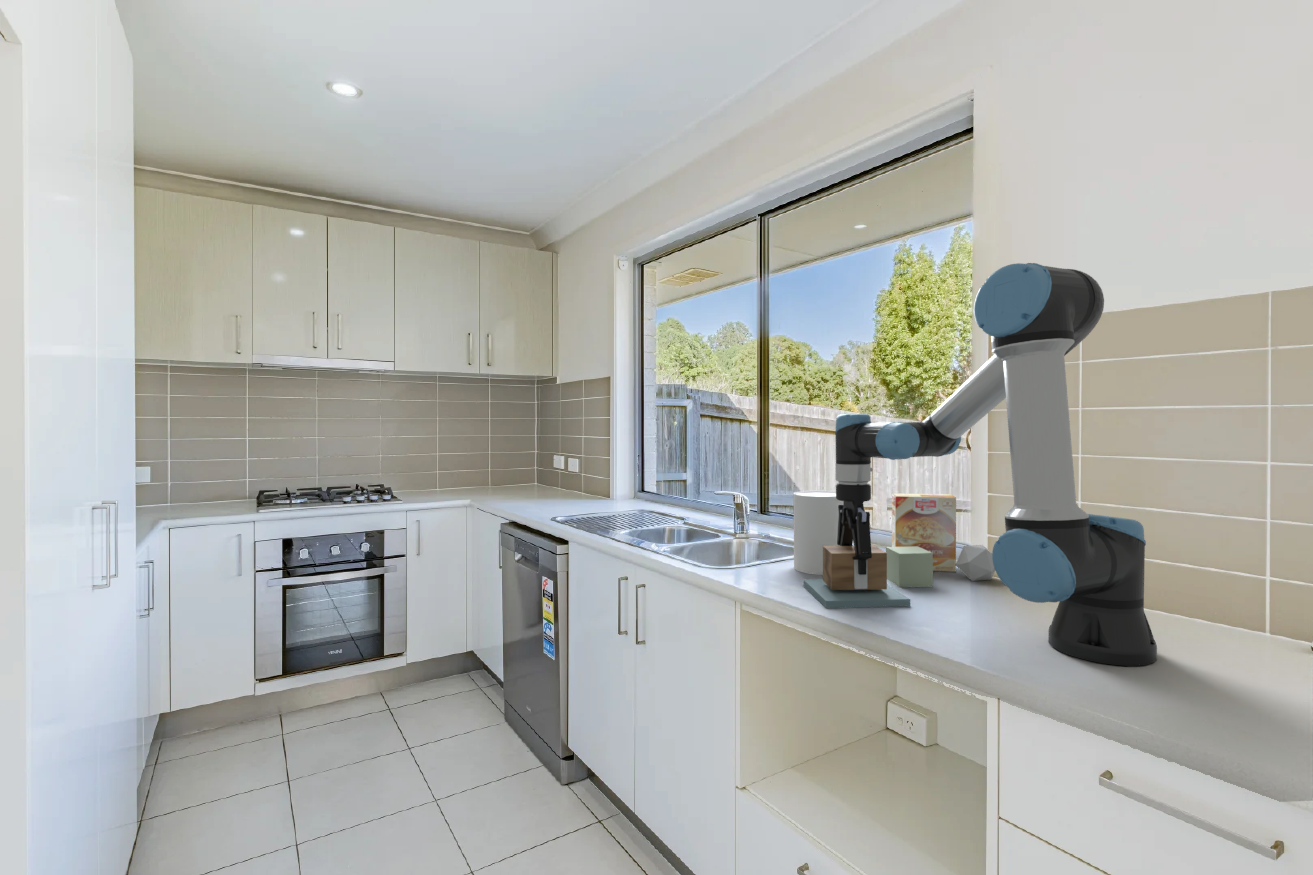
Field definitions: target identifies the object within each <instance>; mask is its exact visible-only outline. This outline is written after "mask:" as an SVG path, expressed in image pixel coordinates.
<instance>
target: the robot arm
mask: <svg viewBox="0 0 1313 875" xmlns="http://www.w3.org/2000/svg"><path fill="white" fill-rule="evenodd" d="M1104 306H1105V297H1104V292H1103V289H1102V288H1101V286H1100V284H1099V283H1098V281H1097V280H1096V279H1094V277H1093V276H1091V275H1090V274H1088V273H1086V272H1083V271H1081V270H1078V269H1073V268H1060V267H1054V266H1049V265H1048V266H1047V265H1042V264H1040V263H1035V262H1028V263H1020V262H1019V263H1012V264H1008V265H1005V266H1002V267H1000V268H998V269H997V270H996V271H994V272H993V273H992V274H990V275H989V276H988V277H987V278H986V281H985V282H984V283H983V285H981V286H980V287H979V289H978V292H977V293H976V296H975V299H974V303H973V316H974V320H975V322H976V325H977V326H978V327H979V329H981V330H982V331H983V332H984V333H985V334H987V335H988V336H990V341H991V353H992V356H991V357H990V358H989V359H988V360H986V362H985V363H984V364H982V366H980V367H979V368H978V369H977V370H976V371H975V372H974V373H973V374H972V375H971V376H970V377H968V379H966V381H965V382H963V383H962V385H960V386H959V387H958V388H957V389H956V390H955V391H954V392H953V393H952V394H951V395H950V396H949V397H948V398H947V399H945V401H943V402H942V403H941V405H939V406H938V407H937V408H936V409H935V410H934V411H932V412H931V414H929V415H928V416H927V417H926V418H925V419H924V420H922V421H916V422H915V421H910V422H908V421H907V422H900V421H898V422H895V421H892V422H872V421H871V416H870V414H868V413H853V414H852V413H850V414H849V413H847V414H846V413H844V414H843V413H842V414H838V415H837V416H836V419H835V421H836V422H835V431H834V435H835V481H837V483H836V485H835V492H836V499H837V500H840V501H844V503H843V504H839V505H838V510H839V519H838V537H837V544H838V545H840V546H854V549H855V556H854V557H852V558H853V560H854V589H867V559H868V558H872V552H871V546H872V541H871V525H870V524H871V523H870V518H871V514H870V511H866V510H865V507H864V502H869V501H871V499H872V486H871V484H870V483H869V482H870V481H871V480H872V479H871V477H872V476H871V472H873V470H874V469H873V468H872V467H871V463H872V461H871V459H872V458H877V459H889V460H892V461H895V460H907V459H910V458H919V457H920V458H921V457H937V458H938V457H943V456H947V455H952V454H954V453H955V452H956V451H957V450H958V449H959V446H960V444H961V441H962V436H963V435H964V434H966V432H968V431H969V430H970V429H971V428H972V427H973V426H974V425H976V424H977V423H978V422H980V421H981V420H982V419H983V418H984V417H986V415H987V414H989V413H990V412H992V411H993V409H995V408H996V407H997V406H999V404H1000V403H1002V402H1003V401H1004V400H1005V403H1006V414H1007V417H1006V418H1007V426H1008V427H1007V428H1008V440H1009V453H1010V465H1011V476H1012V477H1011V478H1012V492H1013V506H1012V507H1011V509H1009V510H1008V511H1007V512H1006V513H1005V514H1004V523H1005V526H1004V527H1005V532H1003V533H1002V534H1001V535H1000V536H999V537H998V539H997V541H995V542H994V544H993V546H992V552H991V553H992V560H993V565H994V568H995V573H996V574H997V576H998V578H999V580H1000V582H1001V583H1002V584H1003V585H1004V586H1006V587H1007V588H1008V589H1009V591H1010V592H1011V593H1012V594H1014V595H1015V596H1017V597H1019V598H1020V599H1023V600H1024V601H1029V602H1032V603H1038V604H1039V603H1040V604H1041V603H1042V604H1043V603H1044V604H1045V603H1058V606H1057V608H1056V610H1055V612H1054V615H1053V618H1052V621H1051V624H1050V625H1049V627H1048V636H1047V637H1048V644H1049V645H1050V646H1051V647H1052V648H1054V649H1056V650H1057V651H1058V652H1061V653H1062V654H1063V653H1064V654H1065V655H1069V656H1072V657H1074V658H1077V659H1081V660H1084V661H1085V660H1086V661H1090V662H1093V663H1100V664H1104V665H1113V666H1125V667H1126V666H1129V667H1137V666H1146V665H1152V664H1153V663H1155V662H1156V661H1157V660H1158V646H1157V642H1156V640H1155V639H1154V635H1153V632H1152V629H1151V626H1150V624H1149V621H1148V617H1147V614H1146V612H1145V606H1144V605H1145V602H1144V601H1145V560H1146V559H1145V552H1146V550H1145V549H1146V545H1147V543H1146V542H1147V541H1146V539H1145V529H1144V525H1143V524H1142V523H1141V522H1140V521H1139V520H1136V519H1131V518H1123V517H1118V516H1117V517H1116V516H1115V517H1114V516H1109V515H1100V514H1092V513H1087V512H1086V511H1084V510H1083V509H1082V508H1080V507H1079V505H1078V503H1077V496H1076V485H1075V484H1076V483H1075V482H1076V481H1075V472H1074V460H1073V448H1072V447H1073V446H1072V438H1071V437H1072V434H1071V424H1070V422H1071V421H1070V413H1069V412H1070V411H1069V410H1070V409H1069V397H1068V388H1067V387H1068V386H1067V377H1066V376H1067V375H1066V374H1067V372H1066V360H1065V356H1066V355H1067V354H1069V353H1070V352H1071V351H1072V350H1073V349H1075V348H1076V347H1077V346H1078V345H1079V344H1080V343H1082V341H1084V339H1086V338H1087V337H1088V336H1089V335H1090V333H1091V332H1092V331H1094V329H1095V328H1096V326H1097V325H1098V323H1099V321H1100V319H1101V318H1102V314H1103V312H1104ZM863 552H864V553H863Z"/></svg>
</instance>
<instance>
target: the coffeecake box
mask: <svg viewBox="0 0 1313 875" xmlns="http://www.w3.org/2000/svg"><path fill="white" fill-rule="evenodd" d="M891 494H892V495H891V510H892V511H891V512H892V513H891V547H908V546H918V547H920V548H923V549H925V550H927V551H929V552H931V553H933V572H946V573H947V572H948V573H949V572H951V573H956V572H957V571H956V569H957V566H956V563H957V496H955V495H953V494H951V493H902V492H900V493H894V492H892V493H891Z"/></svg>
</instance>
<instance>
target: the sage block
mask: <svg viewBox="0 0 1313 875" xmlns="http://www.w3.org/2000/svg"><path fill="white" fill-rule="evenodd" d="M885 552H886V553H887V581H888V582H890V583H891V584H894V585H895V586H896V587H898V588H917V587H920V588H921V587H925V588H926V587H928V588H929V587H933V586H934V585H933V583H934V580H933V579H934V571H933V553H931V552H929V551H927V550H925V549H923V548H920V547H918V546H908V547H892V546H885Z"/></svg>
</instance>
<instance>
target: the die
mask: <svg viewBox="0 0 1313 875" xmlns="http://www.w3.org/2000/svg"><path fill="white" fill-rule="evenodd" d="M956 568H958V569H959V570H960V572H962V573H963V574H964V575H965V576H966V577H967V578H968V579H969V580H970V581H972V582H974V581H975V582H976V581H988V580H990V581H991V580H992V578H993V576H994V574H995V573H996V571H995V568H994V565H993V560H992V552H991V551H990V550H989V549H988V548H987V547H986V546H985V545H983V544H974V545H973V544H971V545H963V546H962V549H961V552H960V554H959V556H958V558H957V559H956Z"/></svg>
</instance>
